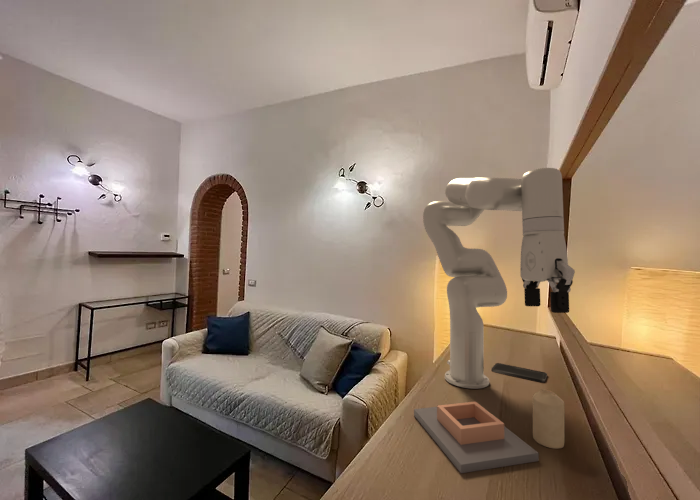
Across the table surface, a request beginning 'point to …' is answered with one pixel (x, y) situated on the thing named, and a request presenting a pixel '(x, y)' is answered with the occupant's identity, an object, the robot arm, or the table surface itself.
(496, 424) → the candle stand
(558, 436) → the candle
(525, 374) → the phone
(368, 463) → the table surface
